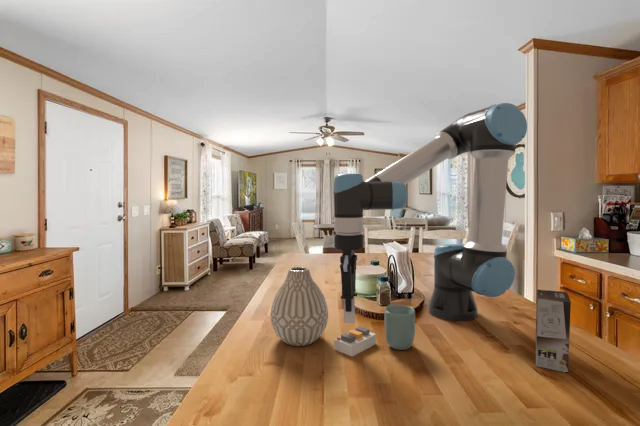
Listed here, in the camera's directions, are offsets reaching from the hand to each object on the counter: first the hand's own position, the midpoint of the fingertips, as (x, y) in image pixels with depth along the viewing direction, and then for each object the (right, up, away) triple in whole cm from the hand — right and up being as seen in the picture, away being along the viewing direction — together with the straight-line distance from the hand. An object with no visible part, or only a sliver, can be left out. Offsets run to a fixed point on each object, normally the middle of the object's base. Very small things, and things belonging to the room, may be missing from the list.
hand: (349, 321), depth 92 cm
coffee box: (+47, -7, -10) cm, 48 cm away
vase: (-13, -7, +5) cm, 16 cm away
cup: (+13, -7, -1) cm, 15 cm away
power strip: (+2, -7, 0) cm, 7 cm away
